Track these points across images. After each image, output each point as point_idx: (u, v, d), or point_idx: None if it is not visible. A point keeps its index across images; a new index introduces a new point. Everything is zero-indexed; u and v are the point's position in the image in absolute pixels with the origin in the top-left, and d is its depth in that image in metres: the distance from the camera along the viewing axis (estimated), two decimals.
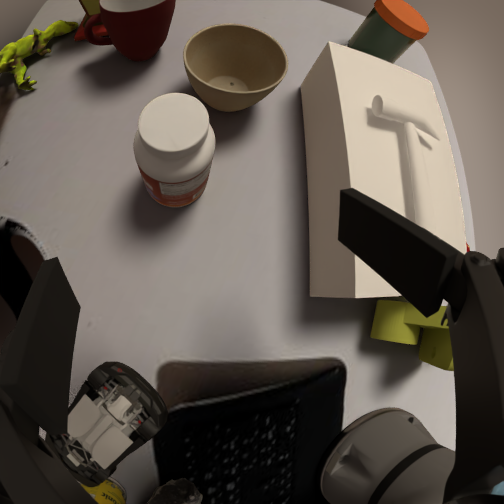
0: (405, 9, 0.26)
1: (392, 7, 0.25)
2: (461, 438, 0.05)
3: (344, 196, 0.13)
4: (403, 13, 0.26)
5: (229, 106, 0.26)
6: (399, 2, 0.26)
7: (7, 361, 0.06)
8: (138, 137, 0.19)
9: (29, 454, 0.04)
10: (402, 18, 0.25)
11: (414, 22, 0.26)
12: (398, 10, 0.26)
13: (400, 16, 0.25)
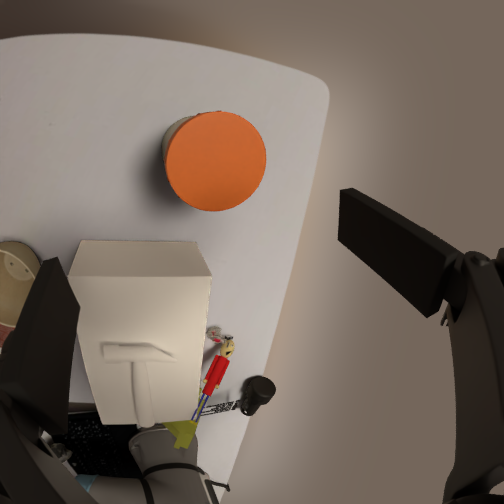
0: (223, 152, 0.23)
1: (185, 168, 0.22)
2: (461, 438, 0.05)
3: (344, 197, 0.13)
4: (207, 173, 0.23)
5: (18, 306, 0.28)
6: (220, 132, 0.22)
7: (7, 361, 0.06)
8: None
9: (29, 454, 0.04)
10: (194, 194, 0.23)
11: (223, 188, 0.24)
12: (197, 170, 0.23)
13: (191, 190, 0.23)
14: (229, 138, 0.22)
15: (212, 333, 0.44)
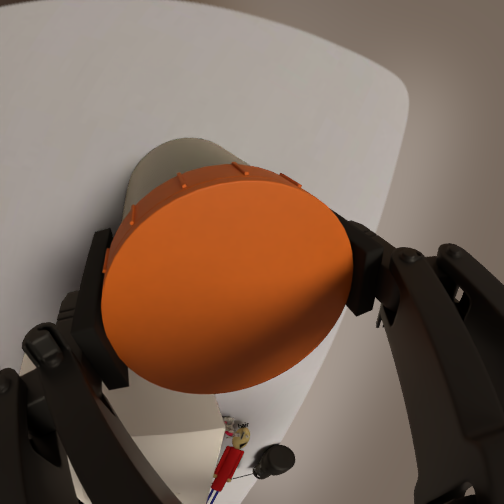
0: (253, 291, 0.09)
1: (155, 337, 0.08)
2: (420, 450, 0.05)
3: None
4: (211, 339, 0.09)
5: None
6: (246, 243, 0.08)
7: (78, 312, 0.07)
8: None
9: (99, 410, 0.05)
10: (185, 376, 0.10)
11: (251, 358, 0.10)
12: (187, 336, 0.09)
13: (177, 372, 0.09)
14: (271, 255, 0.08)
15: None
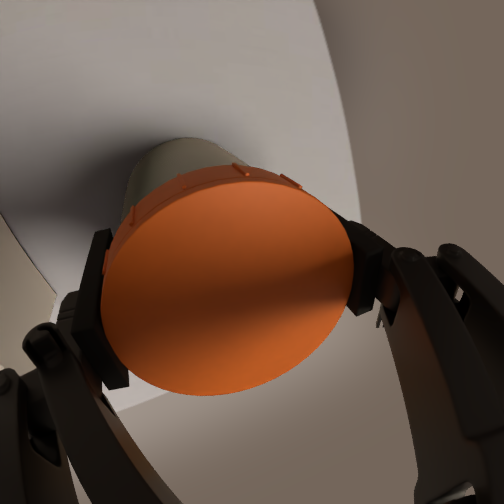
0: (254, 292, 0.09)
1: (154, 339, 0.08)
2: (420, 449, 0.05)
3: None
4: (212, 341, 0.09)
5: None
6: (246, 244, 0.08)
7: (78, 312, 0.07)
8: None
9: (99, 409, 0.05)
10: (185, 377, 0.10)
11: (251, 359, 0.10)
12: (187, 338, 0.09)
13: (177, 373, 0.09)
14: (271, 257, 0.08)
15: None
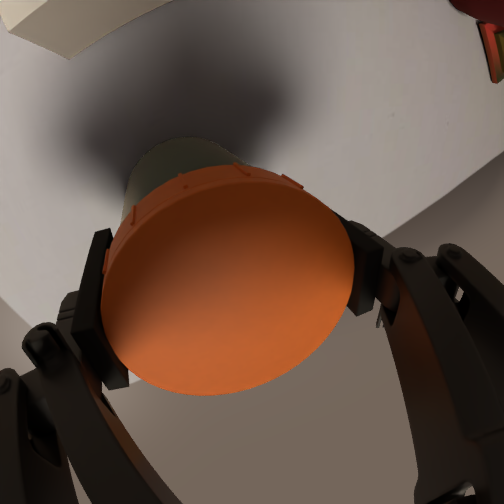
0: (254, 293, 0.09)
1: (154, 338, 0.08)
2: (420, 449, 0.05)
3: None
4: (212, 341, 0.09)
5: None
6: (247, 245, 0.08)
7: (78, 312, 0.07)
8: None
9: (99, 410, 0.05)
10: (185, 377, 0.10)
11: (251, 359, 0.10)
12: (187, 338, 0.09)
13: (177, 373, 0.09)
14: (272, 257, 0.08)
15: None
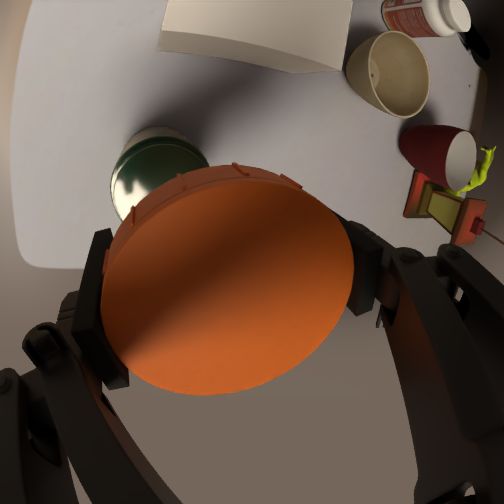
0: (253, 293, 0.09)
1: (154, 338, 0.08)
2: (420, 449, 0.05)
3: None
4: (212, 341, 0.09)
5: (387, 41, 0.25)
6: (246, 245, 0.08)
7: (78, 312, 0.07)
8: None
9: (100, 409, 0.05)
10: (185, 377, 0.10)
11: (251, 359, 0.10)
12: (187, 338, 0.09)
13: (177, 373, 0.09)
14: (271, 257, 0.08)
15: None
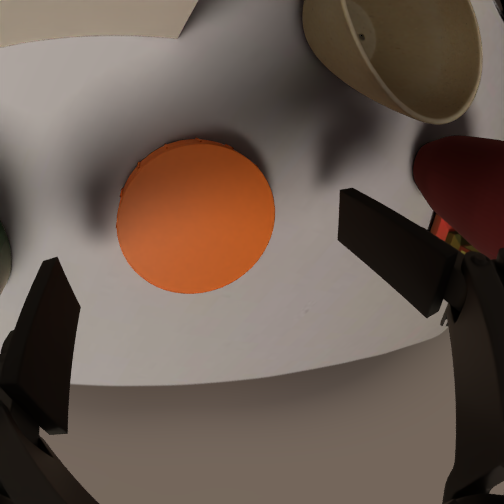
0: (206, 210, 0.15)
1: (146, 238, 0.14)
2: (461, 438, 0.05)
3: (344, 196, 0.13)
4: (181, 243, 0.15)
5: None
6: (200, 179, 0.14)
7: (7, 361, 0.06)
8: None
9: (29, 454, 0.04)
10: (164, 273, 0.15)
11: (208, 262, 0.16)
12: (166, 239, 0.15)
13: (159, 269, 0.15)
14: (215, 187, 0.14)
15: None
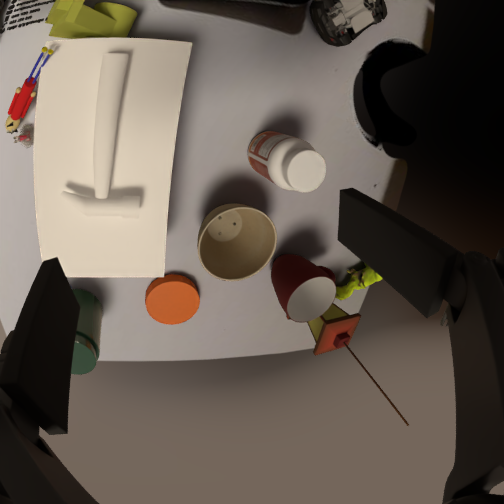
0: (175, 299, 0.43)
1: (156, 308, 0.43)
2: (461, 438, 0.05)
3: (344, 196, 0.13)
4: (167, 309, 0.44)
5: (236, 203, 0.37)
6: (172, 291, 0.42)
7: (7, 361, 0.06)
8: None
9: (29, 454, 0.04)
10: (162, 318, 0.44)
11: (177, 314, 0.45)
12: (162, 308, 0.43)
13: (160, 317, 0.44)
14: (177, 293, 0.43)
15: (29, 137, 0.27)
